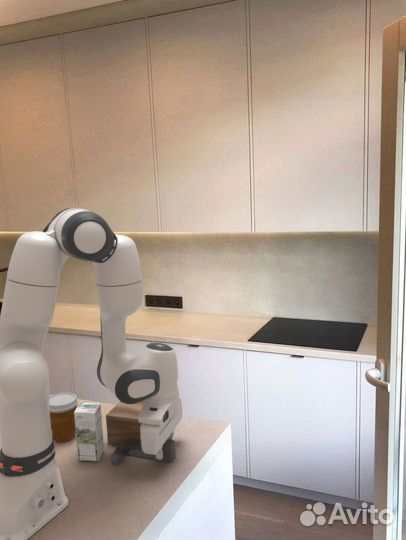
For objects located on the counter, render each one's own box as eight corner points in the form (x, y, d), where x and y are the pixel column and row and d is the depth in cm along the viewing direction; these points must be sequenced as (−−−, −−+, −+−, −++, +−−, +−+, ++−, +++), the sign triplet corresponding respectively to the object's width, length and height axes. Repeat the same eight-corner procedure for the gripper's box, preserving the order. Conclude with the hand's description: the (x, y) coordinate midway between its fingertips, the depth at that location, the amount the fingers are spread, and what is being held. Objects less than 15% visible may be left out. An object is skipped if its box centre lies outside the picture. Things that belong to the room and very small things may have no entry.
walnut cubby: (141, 449, 136) (139, 419, 134) (107, 444, 139) (105, 415, 137) (166, 417, 153) (165, 390, 152) (136, 413, 157) (134, 387, 155)
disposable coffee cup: (40, 442, 141) (37, 404, 139) (60, 426, 150) (57, 390, 147) (69, 447, 138) (65, 408, 135) (87, 431, 147) (84, 393, 144)
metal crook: (165, 472, 125) (164, 455, 124) (111, 464, 129) (109, 446, 128) (175, 457, 131) (174, 440, 130) (123, 449, 136) (122, 432, 135)
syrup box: (104, 450, 136) (101, 401, 133) (98, 462, 130) (94, 412, 127) (85, 449, 136) (81, 401, 134) (77, 462, 131) (73, 411, 128)
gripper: (166, 385, 139) (168, 430, 141) (134, 419, 119) (138, 471, 122) (186, 388, 137) (188, 433, 139) (158, 423, 118) (161, 474, 120)
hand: (164, 451), depth 131 cm, fingers open, 5 cm apart
